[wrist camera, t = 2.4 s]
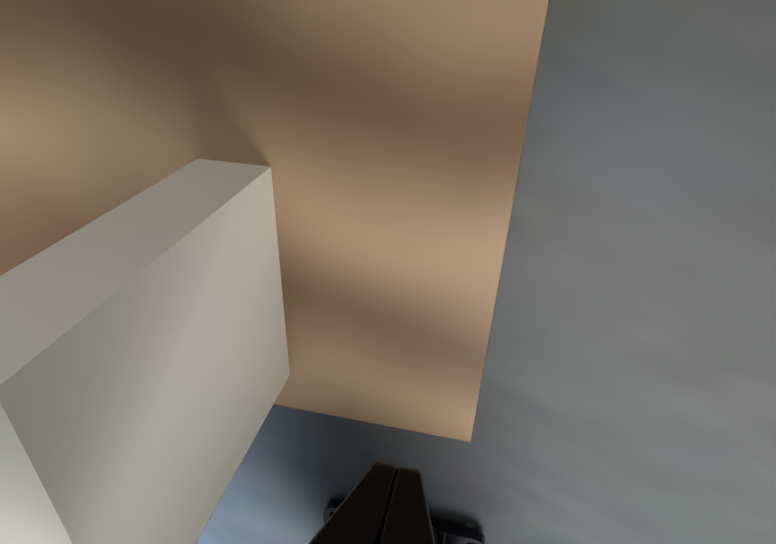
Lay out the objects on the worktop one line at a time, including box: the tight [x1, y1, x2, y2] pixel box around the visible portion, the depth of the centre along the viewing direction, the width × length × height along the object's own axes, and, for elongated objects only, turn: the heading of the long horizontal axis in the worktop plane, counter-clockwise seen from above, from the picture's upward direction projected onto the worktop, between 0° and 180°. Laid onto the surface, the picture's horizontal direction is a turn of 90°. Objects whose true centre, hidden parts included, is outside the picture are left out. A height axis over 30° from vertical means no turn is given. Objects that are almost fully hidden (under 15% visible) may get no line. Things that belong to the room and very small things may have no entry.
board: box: [0, 0, 549, 442], centre depth 12 cm, size 22×17×1 cm
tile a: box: [0, 159, 290, 544], centre depth 11 cm, size 7×2×8 cm, turn 178°
